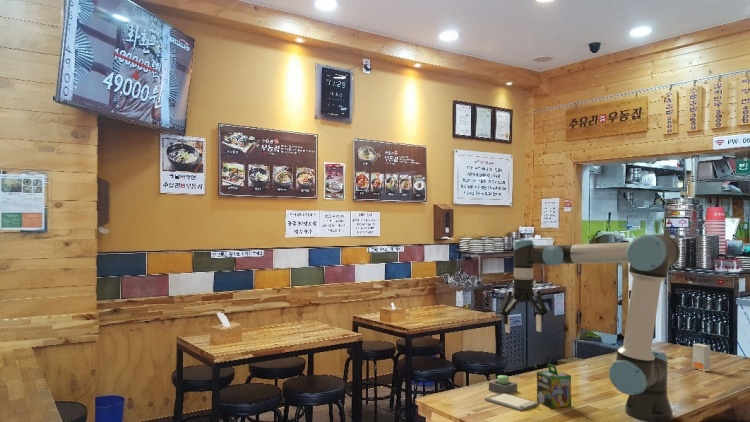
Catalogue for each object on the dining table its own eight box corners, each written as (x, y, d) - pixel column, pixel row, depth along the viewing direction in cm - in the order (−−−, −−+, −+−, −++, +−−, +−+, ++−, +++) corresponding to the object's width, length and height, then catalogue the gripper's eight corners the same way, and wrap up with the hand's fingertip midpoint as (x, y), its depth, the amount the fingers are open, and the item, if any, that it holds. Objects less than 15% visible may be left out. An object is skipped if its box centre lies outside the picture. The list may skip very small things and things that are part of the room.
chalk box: (571, 406, 205) (572, 366, 205) (551, 409, 202) (551, 368, 202) (555, 399, 214) (556, 360, 214) (535, 401, 210) (536, 362, 211)
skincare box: (692, 369, 263) (692, 343, 264) (698, 368, 265) (698, 343, 265) (704, 372, 258) (704, 346, 258) (710, 371, 260) (710, 345, 260)
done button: (510, 384, 223) (510, 376, 223) (504, 386, 220) (504, 378, 220) (501, 381, 227) (501, 374, 227) (495, 383, 224) (495, 376, 224)
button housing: (517, 390, 223) (517, 383, 223) (505, 394, 218) (505, 387, 218) (500, 386, 229) (500, 378, 229) (488, 389, 224) (488, 382, 224)
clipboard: (540, 404, 206) (540, 401, 206) (521, 411, 198) (521, 408, 198) (503, 394, 219) (503, 391, 219) (484, 400, 211) (484, 396, 211)
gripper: (546, 277, 228) (546, 329, 227) (490, 277, 222) (490, 331, 221) (556, 278, 220) (556, 332, 220) (498, 279, 215) (498, 334, 214)
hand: (523, 331), depth 221 cm, fingers open, 13 cm apart
